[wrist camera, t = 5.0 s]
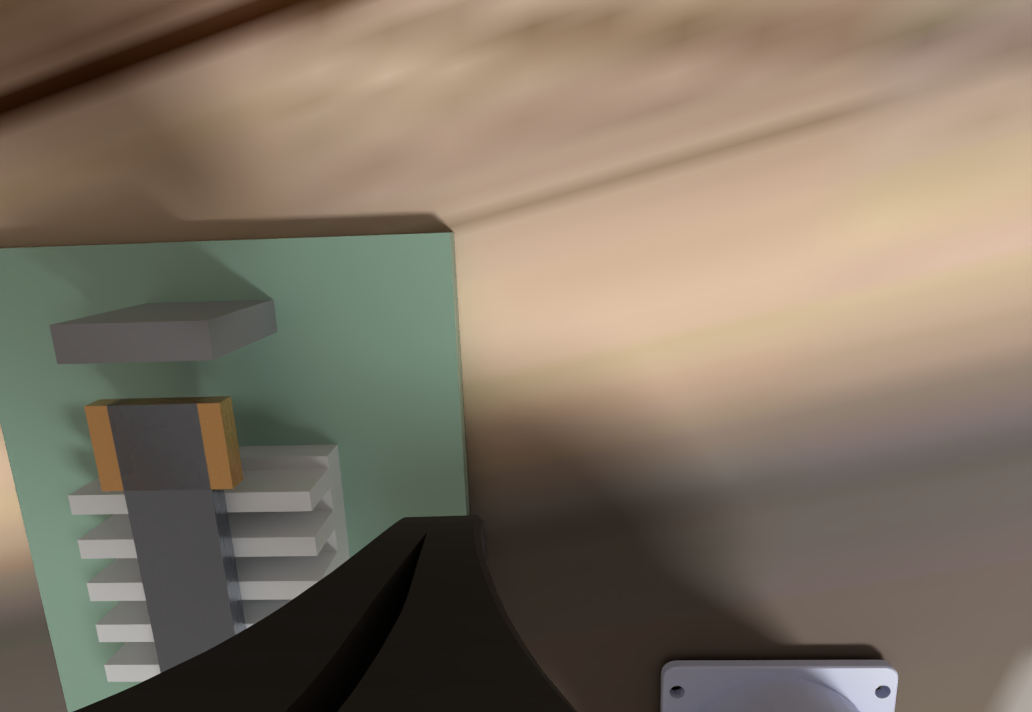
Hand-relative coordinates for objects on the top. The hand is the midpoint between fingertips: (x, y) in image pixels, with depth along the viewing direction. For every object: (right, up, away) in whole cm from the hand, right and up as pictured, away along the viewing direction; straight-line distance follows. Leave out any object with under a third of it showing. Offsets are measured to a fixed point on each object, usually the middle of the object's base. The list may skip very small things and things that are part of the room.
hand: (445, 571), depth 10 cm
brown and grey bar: (-8, -4, +8) cm, 12 cm away
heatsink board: (-8, -3, +11) cm, 14 cm away
